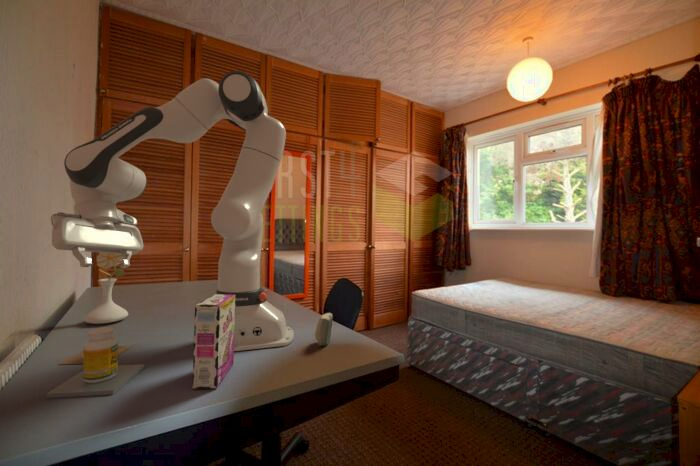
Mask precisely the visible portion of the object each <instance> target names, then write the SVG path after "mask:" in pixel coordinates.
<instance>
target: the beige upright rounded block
mask: <svg viewBox="0 0 700 466" xmlns="http://www.w3.org/2000/svg"><path fill="white" fill-rule="evenodd" d="M333 317H334V316H333V313H331V312H326V313H324V314H322V315H321V316H320V318H319V319H318V322H317V325H316V329H315V332H314V337H315V340H316V342H317V343H316V345H317V346H318V347H321V348H326V347H327V346H328V345H329V343H330V342H331V337H332V330H333V329H332V327H333V322H334V321H333Z"/></svg>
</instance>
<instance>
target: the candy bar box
mask: <svg viewBox="0 0 700 466" xmlns="http://www.w3.org/2000/svg"><path fill="white" fill-rule="evenodd" d="M235 296H236V295H233V294H216V293H215V294H213V295H211V296H210V297H208V298H207V299H204V300H203V301H200V302H198V303H197V304H195V305H194V322H193V323H194V331H193V332H194V333H193V361H192V363H193V364H192V390H215V389H218V388H219V386H220V385H221V382H222V381H223V380H224V378H225V377H226V375H227V374H228V373H229V371H230V369H231V368H232V367H233V366H234V359H235V357H234V356H235V351H234V325H235Z"/></svg>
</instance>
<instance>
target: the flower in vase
mask: <svg viewBox="0 0 700 466" xmlns="http://www.w3.org/2000/svg"><path fill="white" fill-rule="evenodd" d="M123 258H124V257H122V256H121V254H119V253H103V252H98V255H97V256H96V266H97V267H100V268H99V269H98V271H100V272H101V273H102V274H106V275H108V276H109V277H108V278H102V279H101V278H100V279H97V282H98V283H99V284H100V286H101V289H102V300H101V302H100V304H98V305H97V306H96V307H95V308H94V309H92V310H91V311H90V312H88V313H87V314H86V315H85V316H84V318H83V321H84V322H85V323H87V324H92V325H93V324H94V325H101V324H110V323H114V322H118V321H121V320H123V319H125V318H127V317H128V316H129V312H128V311H127V310H126V309H125V308H124V307H121V306H120V305H118V304H116V303H115V302H114V301H113V298H112V295H113V294H112V293H113V292H112V291H113V287H114V285H115V283H116V282H117V280H118V279H117V278H114V277H113V275H115V277H122V276H126V273H125V271H124V270H123V269H121V268H119V269H117V267H116V266H118V265H120V264H119V262H120V261H122V260H123ZM101 268H103V269H105V270H107V269H111V268H114V270H113V272H112V273H111V274H110V273H108V272H106V271H104V270H102V269H101ZM112 277H113V278H112Z"/></svg>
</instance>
